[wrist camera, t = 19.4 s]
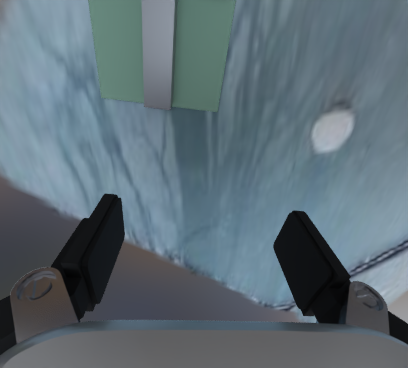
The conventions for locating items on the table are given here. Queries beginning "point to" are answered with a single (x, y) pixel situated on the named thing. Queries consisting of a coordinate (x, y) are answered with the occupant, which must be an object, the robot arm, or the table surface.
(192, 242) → the table surface
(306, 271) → the robot arm
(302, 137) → the table surface
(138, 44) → the mat
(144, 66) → the scraper
